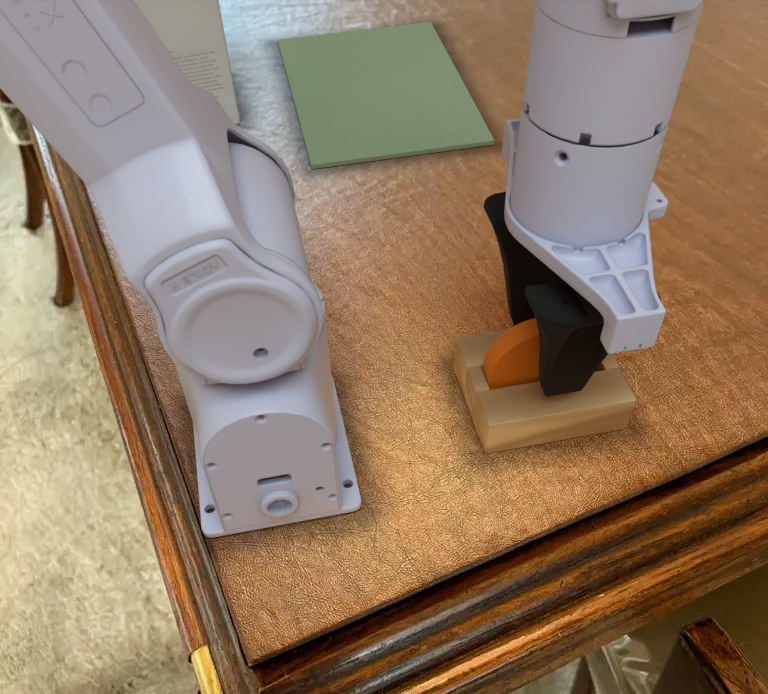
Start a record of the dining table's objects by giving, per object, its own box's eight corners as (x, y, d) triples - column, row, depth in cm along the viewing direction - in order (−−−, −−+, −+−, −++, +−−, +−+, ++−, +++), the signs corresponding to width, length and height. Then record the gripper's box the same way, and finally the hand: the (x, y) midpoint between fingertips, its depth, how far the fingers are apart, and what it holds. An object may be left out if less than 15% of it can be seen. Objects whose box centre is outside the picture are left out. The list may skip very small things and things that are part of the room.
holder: (627, 429, 43) (637, 399, 41) (484, 454, 42) (488, 425, 40) (583, 344, 47) (591, 314, 45) (452, 366, 46) (455, 336, 44)
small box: (148, 89, 66) (101, -91, 56) (224, 76, 67) (191, -103, 57) (161, 140, 61) (112, -47, 51) (242, 125, 62) (210, -60, 52)
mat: (494, 144, 60) (494, 140, 60) (311, 169, 58) (311, 164, 58) (430, 26, 72) (430, 21, 72) (278, 44, 70) (277, 39, 70)
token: (589, 391, 44) (593, 319, 40) (491, 417, 44) (485, 349, 40) (581, 375, 45) (585, 303, 40) (485, 401, 45) (478, 332, 40)
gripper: (783, 201, 27) (675, 446, 38) (620, 14, 36) (570, 256, 47) (588, 230, 26) (534, 472, 37) (470, 32, 35) (454, 274, 46)
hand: (545, 353), depth 42 cm, fingers open, 4 cm apart
